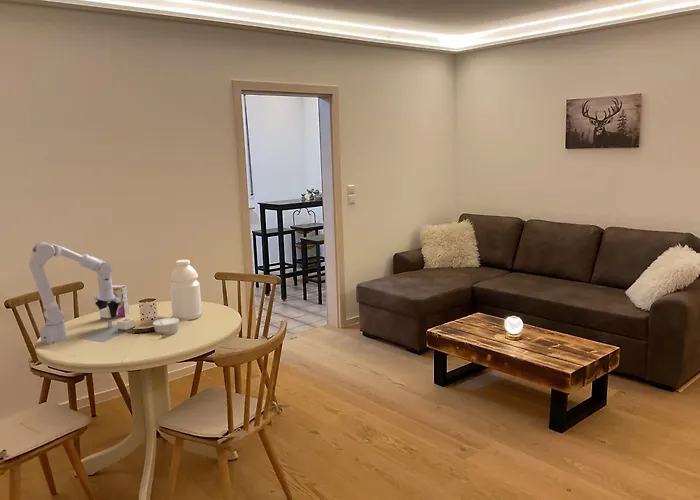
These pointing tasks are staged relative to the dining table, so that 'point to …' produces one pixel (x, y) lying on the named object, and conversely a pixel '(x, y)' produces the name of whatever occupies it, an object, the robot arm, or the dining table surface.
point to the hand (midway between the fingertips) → (109, 316)
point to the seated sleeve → (125, 324)
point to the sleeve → (106, 314)
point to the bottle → (185, 292)
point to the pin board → (103, 333)
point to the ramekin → (166, 326)
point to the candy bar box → (121, 293)
